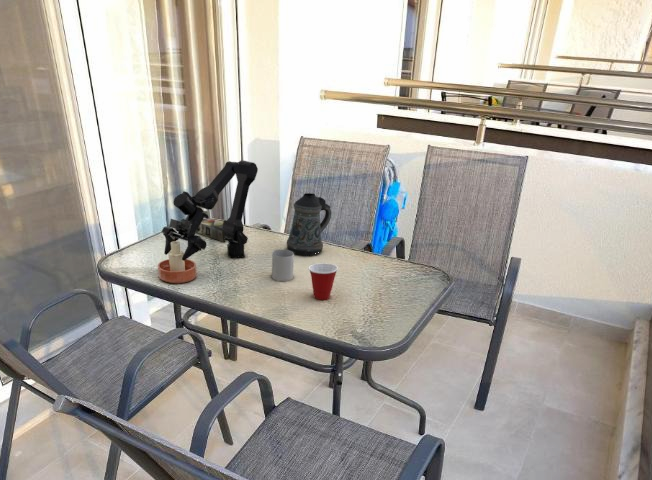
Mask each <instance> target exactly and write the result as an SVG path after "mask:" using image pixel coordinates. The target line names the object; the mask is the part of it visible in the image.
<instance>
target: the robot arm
mask: <svg viewBox="0 0 652 480" xmlns="http://www.w3.org/2000/svg"><path fill="white" fill-rule="evenodd" d="M258 172H259V168H258V166H257V164H256V163H255V162H253V161H248V160H244V159H241V160H239V161H226V162H225V164H224V167H223V168H222V169H221V170H220V171H219V173H218V174H217V175H215V177H214V178H213V179H212V181H211V182H210V183H209V184H208V185H207V186H205V187H203V188H201V189H200V190H198V191H197V192H196V193H195V195H192V196H191V195H190V193H189V192H188V191H184V190H183V192H182V193H179V194H178V195H177V196H175V197H174V199H173V206H174V207H175V208H176V209H177V210H179V211H180V212H181V213H182V214H183V215H184V216H186V217H185V219H184V218H182V219H181V220H177V219H173V218H170V220H169V225H168V226H163V228H162V230H161V233H162V235H163V236H164V238H165V244H164V245H165V246H164V251H163V253H164V255H166V256H167V255H169V254H168V253H169V252H170V251H171V242H173V241H179V240H182V241H186V242H187V247H186V249H185V250H184V255H183V257H182V260H183V261H184V260H186V259H189V258H190V257H191V256H193V255H195V254H196V253H198V252H200V251H202V250H203V251H205V250H206V248H207V241H206V240H204V239H203V237H201V236H200V235H197V233H196V232H197V231H198V232H199V231H200V229H199V226H200V224H201V222H202V220H203V219H209V218H210V217H209V213H208V211H209V210H210V211H211V210H213V209H214V207H215V206H216V204H217V203H218V201H219V195H220V194H221V192H223V190H224V189H225V187H227V185H228V184H229V182H230V181H231V180H232V179H233V177H235V176H236V180H237V184H236V188H235V193H234V198H233V201H232V206H231V211H230V215H229V217H228V219H223V221H222V222H223V227H222V234H223V236H224V238H225V239H224V241H225V242H227V243H228V244H227V245H226V248H227V249H226V250H227V251H226V253H227V255H228V257H229V258H230V259H239V258H241V259H242V258H246V255H245V245H246V244H247V243H248V239H249V238H248V237H247V235H246V234H244V224H243V221H242V220H243V216H244V211H245V207H246V203H247V199H248V194H249V191H250V186H251V185H252V184H253V182H255V180H256V178H257V174H258ZM207 210H208V211H207Z"/></svg>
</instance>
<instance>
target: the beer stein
mask: <svg viewBox="0 0 652 480" xmlns="http://www.w3.org/2000/svg"><path fill="white" fill-rule="evenodd" d="M293 209H294V213H293V218H292V223H291V228H290V232H289V235H288V238H287V240H286V247H287V248H286V250H289V251H292V252H293V253H294V256H299V257H315V256H316V257H317V256H318V255H320V254H321V253H322V250H323V247H324V243H323V240H322V233H323V231H325V229H326V228H327V226H328V225H329V223H330V221H331V219H332V210H331V206H330V205H329V204H327V203H326V199H324V198H323V197H321V196H316V194H315V193H309V192H308V193H303V196H301V197H300V198H299V199H297V200H296V201H295V202H293ZM321 211H324V212H325V213H324V217H323V219H322V221H321V216H320V213H321ZM318 252H319V253H318ZM315 253H316V254H315Z"/></svg>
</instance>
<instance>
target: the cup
mask: <svg viewBox="0 0 652 480" xmlns="http://www.w3.org/2000/svg"><path fill="white" fill-rule="evenodd" d="M294 261H295V255H294V253H293V252H292V251H289V250H288V249H275V250H273V251H272V253H271V277H272V279H273V280H275V281H276V282H277V281H278V282H289V281H291V280H293V278H294Z"/></svg>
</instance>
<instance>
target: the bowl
mask: <svg viewBox="0 0 652 480" xmlns="http://www.w3.org/2000/svg"><path fill="white" fill-rule="evenodd" d="M184 262H185V271H177V272H174V271H170V265H169V258H167V259H164V260H162V261H160V262H158V264H157V273H158V274H157V275H158V279H160V280H161V281H164V282H166V283H168V284H184V283H185V284H186V283H188V282H191V281H192V280H194V279H195V278H197V275H198V273H197V264H196V263H197V262H195V261H193V260H191V259H189V258H187V259H186V260H184Z"/></svg>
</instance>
